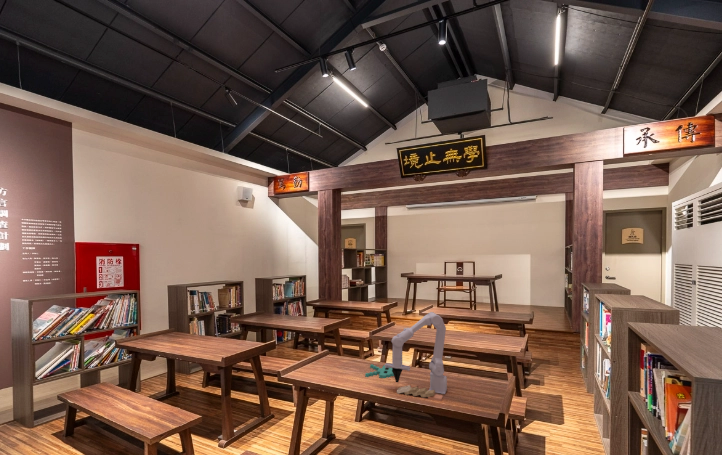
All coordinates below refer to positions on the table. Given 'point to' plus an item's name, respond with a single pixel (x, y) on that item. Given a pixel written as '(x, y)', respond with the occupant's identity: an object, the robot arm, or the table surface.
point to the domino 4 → (436, 397)
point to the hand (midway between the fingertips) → (397, 381)
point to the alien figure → (380, 372)
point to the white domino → (403, 389)
